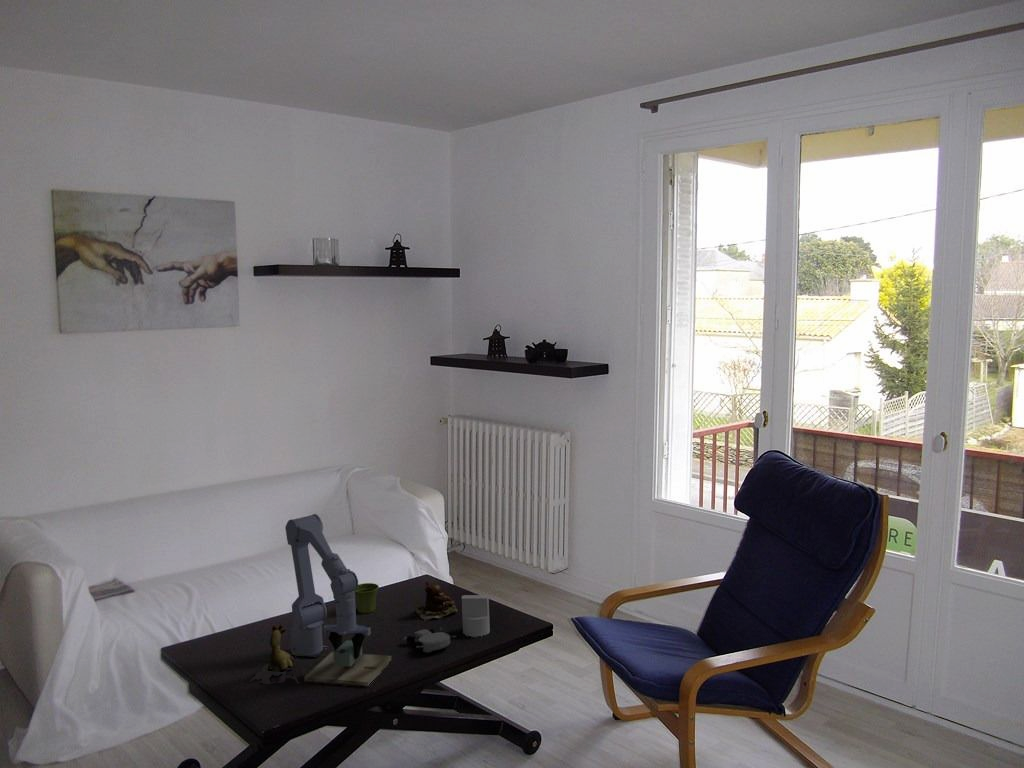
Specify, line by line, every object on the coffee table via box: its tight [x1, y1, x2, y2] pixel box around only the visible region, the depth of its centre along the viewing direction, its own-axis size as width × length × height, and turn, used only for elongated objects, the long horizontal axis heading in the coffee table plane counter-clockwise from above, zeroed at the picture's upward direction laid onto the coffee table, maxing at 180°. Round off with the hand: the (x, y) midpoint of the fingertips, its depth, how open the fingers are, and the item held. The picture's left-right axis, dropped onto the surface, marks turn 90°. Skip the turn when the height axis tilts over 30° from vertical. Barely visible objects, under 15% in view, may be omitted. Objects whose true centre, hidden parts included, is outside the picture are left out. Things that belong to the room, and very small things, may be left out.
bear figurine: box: [414, 581, 458, 621], centre depth 290 cm, size 14×15×12 cm
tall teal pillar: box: [333, 639, 363, 667], centre depth 244 cm, size 5×9×5 cm, turn 167°
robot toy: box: [402, 628, 457, 654], centre depth 261 cm, size 12×4×15 cm
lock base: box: [304, 651, 392, 687], centre depth 245 cm, size 20×18×3 cm
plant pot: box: [354, 582, 380, 614], centre depth 294 cm, size 9×9×9 cm
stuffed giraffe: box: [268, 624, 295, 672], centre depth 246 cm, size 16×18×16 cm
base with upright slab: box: [461, 594, 491, 638], centre depth 271 cm, size 9×9×12 cm
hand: (348, 657), depth 244 cm, fingers closed on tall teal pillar, 5 cm apart
